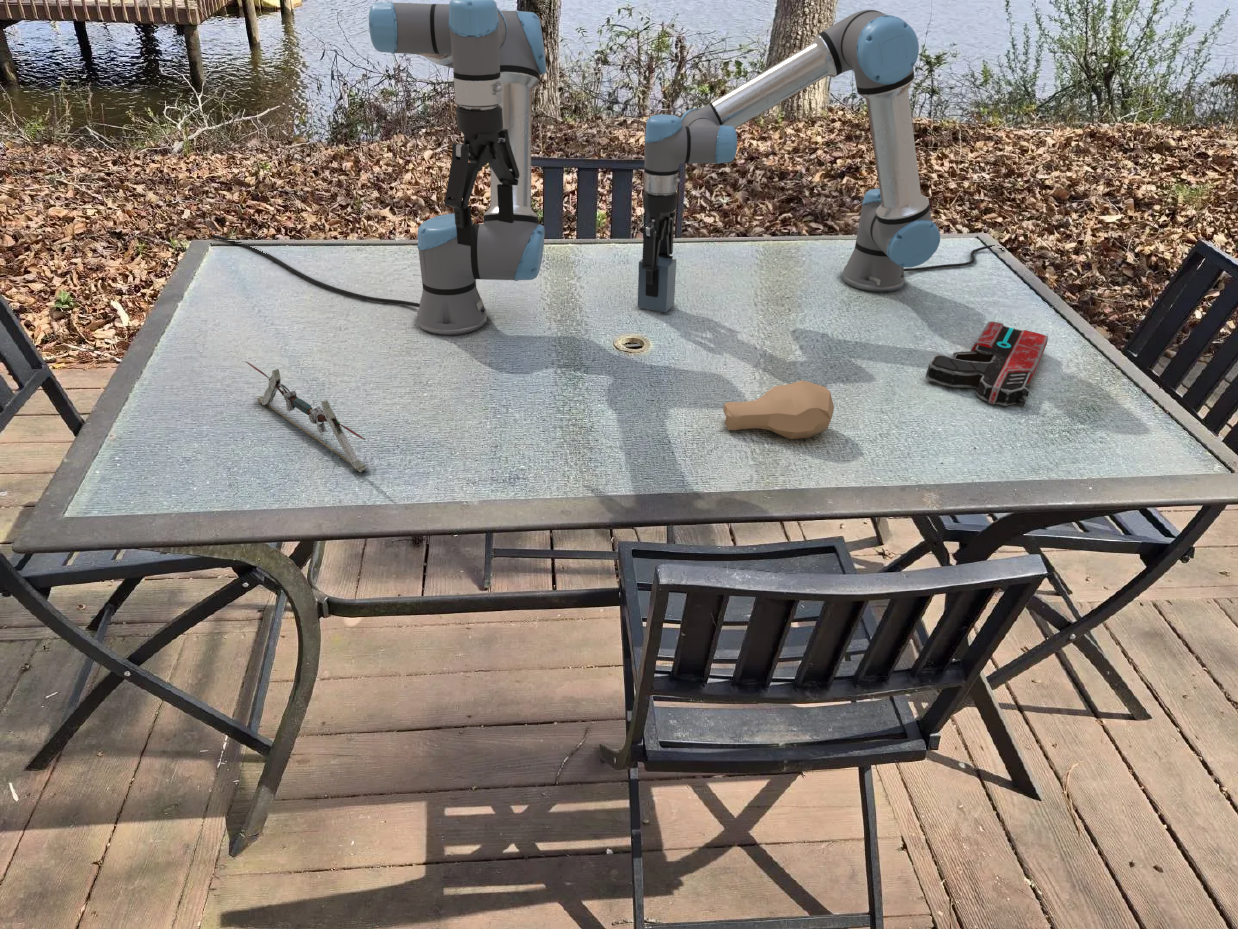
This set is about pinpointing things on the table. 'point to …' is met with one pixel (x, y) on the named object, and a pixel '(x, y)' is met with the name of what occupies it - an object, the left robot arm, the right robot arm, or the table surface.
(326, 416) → the bow
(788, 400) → the squash
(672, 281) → the brick
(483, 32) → the left robot arm
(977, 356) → the gun
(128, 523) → the table surface
